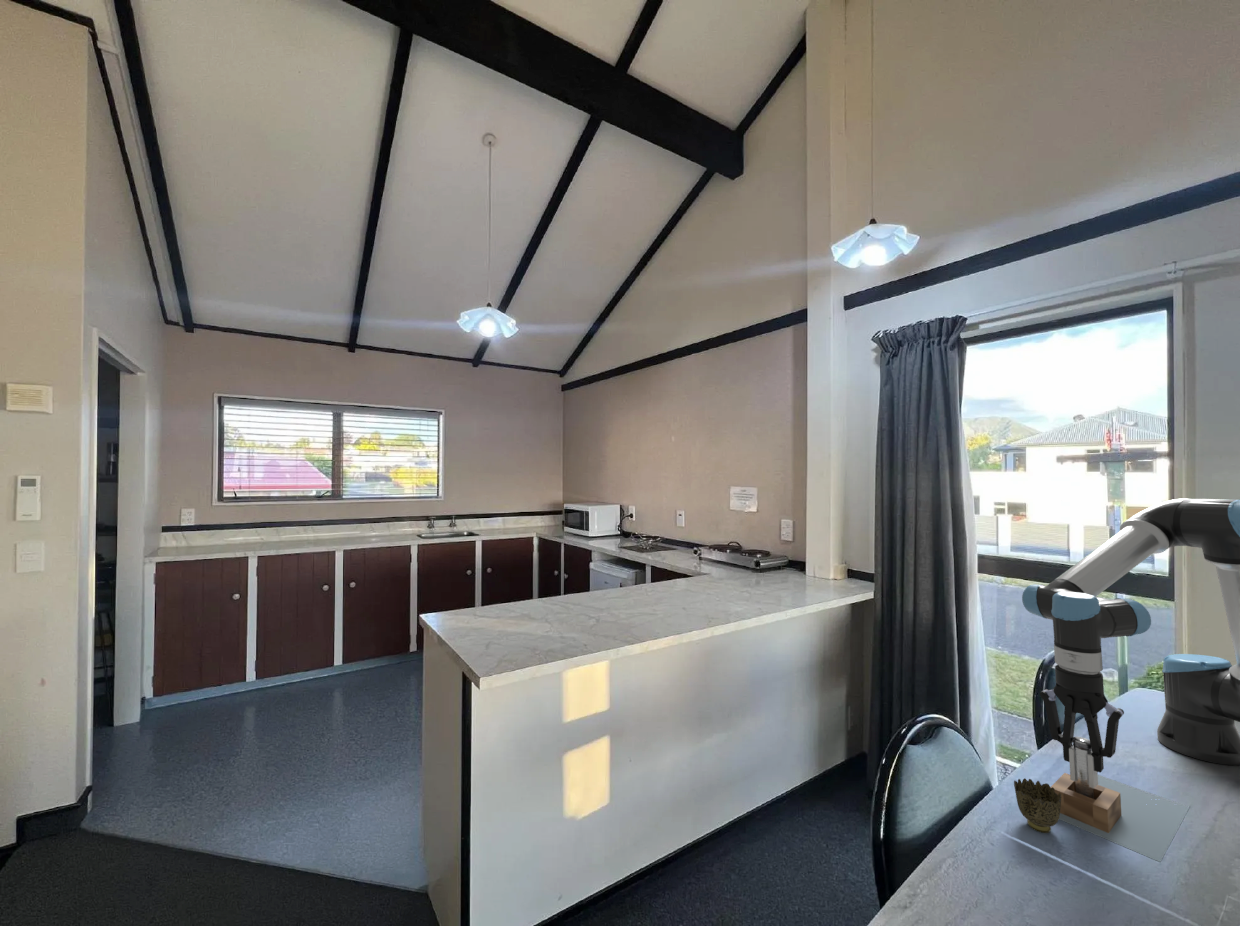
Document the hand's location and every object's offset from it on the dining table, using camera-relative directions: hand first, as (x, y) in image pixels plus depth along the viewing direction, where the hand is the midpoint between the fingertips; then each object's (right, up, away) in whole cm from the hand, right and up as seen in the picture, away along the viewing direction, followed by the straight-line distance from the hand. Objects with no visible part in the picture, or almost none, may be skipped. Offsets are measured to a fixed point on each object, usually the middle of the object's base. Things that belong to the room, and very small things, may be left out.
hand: (1084, 781), depth 107 cm
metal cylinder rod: (0, -5, 0) cm, 5 cm away
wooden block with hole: (0, -6, 0) cm, 6 cm away
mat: (+7, -7, +1) cm, 9 cm away
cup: (-13, -7, -4) cm, 15 cm away
